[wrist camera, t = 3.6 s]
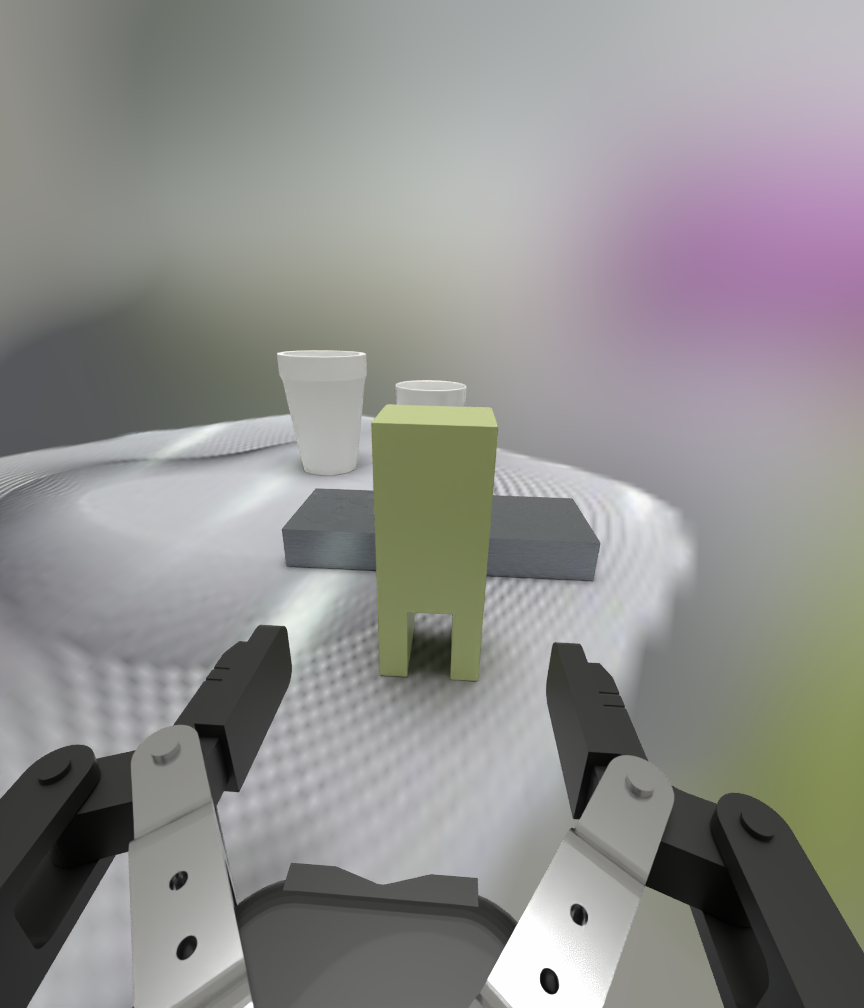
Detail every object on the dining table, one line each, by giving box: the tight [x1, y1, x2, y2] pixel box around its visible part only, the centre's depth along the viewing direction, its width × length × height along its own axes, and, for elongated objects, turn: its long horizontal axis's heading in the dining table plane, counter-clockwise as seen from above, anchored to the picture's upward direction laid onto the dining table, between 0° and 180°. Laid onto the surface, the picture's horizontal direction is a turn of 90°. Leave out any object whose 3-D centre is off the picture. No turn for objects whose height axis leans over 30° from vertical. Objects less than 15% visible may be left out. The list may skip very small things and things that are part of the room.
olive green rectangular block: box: [371, 405, 498, 681], centre depth 22 cm, size 5×4×13 cm
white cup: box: [395, 380, 467, 407], centre depth 51 cm, size 8×8×10 cm
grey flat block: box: [282, 489, 600, 581], centre depth 35 cm, size 22×8×3 cm, turn 87°
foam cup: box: [277, 350, 367, 475], centre depth 51 cm, size 10×9×13 cm
